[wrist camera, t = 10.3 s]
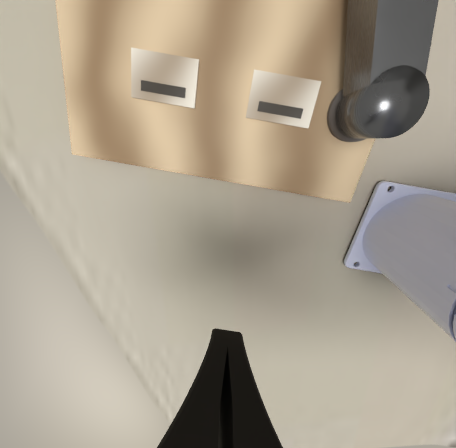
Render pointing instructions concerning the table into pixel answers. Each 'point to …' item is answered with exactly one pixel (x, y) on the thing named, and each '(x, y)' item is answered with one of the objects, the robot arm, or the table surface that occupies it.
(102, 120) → the label board
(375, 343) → the table surface
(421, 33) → the swing bar
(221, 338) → the robot arm
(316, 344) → the table surface
